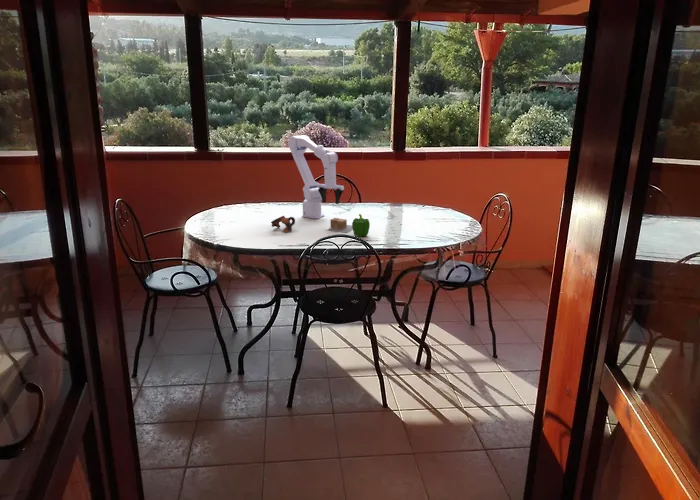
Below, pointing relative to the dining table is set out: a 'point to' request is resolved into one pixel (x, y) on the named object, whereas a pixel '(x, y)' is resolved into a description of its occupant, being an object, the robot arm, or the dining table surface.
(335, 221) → the walnut block
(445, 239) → the dining table surface
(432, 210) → the dining table surface
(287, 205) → the dining table surface
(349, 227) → the slate mat
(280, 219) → the brown irregular piece
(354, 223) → the bell pepper
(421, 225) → the dining table surface
